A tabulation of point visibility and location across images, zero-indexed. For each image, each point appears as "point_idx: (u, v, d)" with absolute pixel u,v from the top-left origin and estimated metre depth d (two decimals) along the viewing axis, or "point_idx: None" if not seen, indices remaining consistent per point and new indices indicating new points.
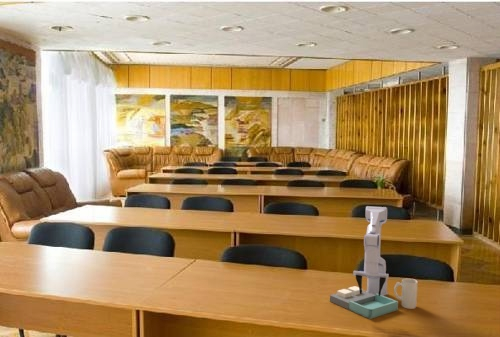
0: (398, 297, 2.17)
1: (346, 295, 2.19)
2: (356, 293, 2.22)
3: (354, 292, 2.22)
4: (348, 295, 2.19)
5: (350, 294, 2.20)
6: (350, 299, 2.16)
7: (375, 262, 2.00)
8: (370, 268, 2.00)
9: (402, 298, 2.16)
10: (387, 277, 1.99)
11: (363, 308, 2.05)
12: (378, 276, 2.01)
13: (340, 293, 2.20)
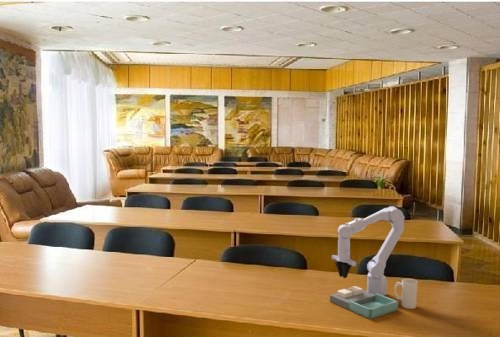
0: (398, 297, 2.17)
1: (346, 295, 2.19)
2: (356, 293, 2.22)
3: (354, 292, 2.22)
4: (348, 295, 2.19)
5: (350, 294, 2.20)
6: (350, 299, 2.16)
7: (340, 250, 2.28)
8: (339, 255, 2.29)
9: (402, 298, 2.16)
10: (352, 264, 2.25)
11: (363, 308, 2.05)
12: None
13: (340, 293, 2.20)
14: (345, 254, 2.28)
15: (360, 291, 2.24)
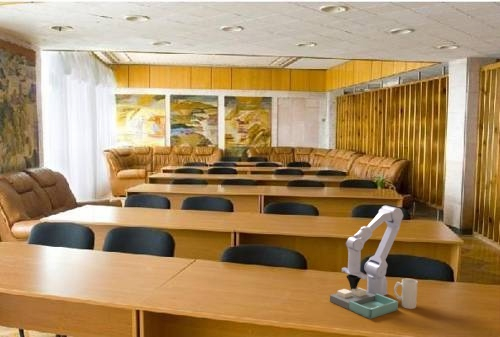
0: (398, 297, 2.17)
1: (346, 295, 2.19)
2: (360, 294, 2.20)
3: (358, 293, 2.20)
4: (348, 295, 2.19)
5: (350, 294, 2.20)
6: (350, 299, 2.16)
7: (352, 263, 2.22)
8: (349, 267, 2.24)
9: (402, 298, 2.16)
10: (363, 278, 2.19)
11: (363, 308, 2.05)
12: None
13: (340, 293, 2.20)
14: (355, 267, 2.22)
15: (364, 292, 2.22)
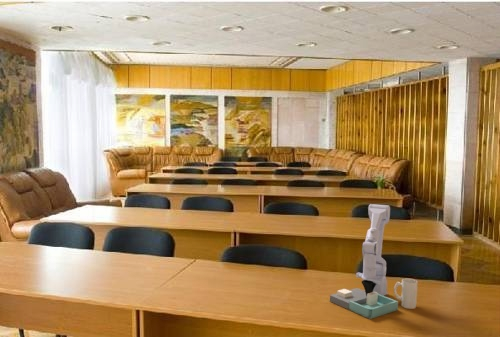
0: (398, 297, 2.17)
1: (346, 295, 2.19)
2: None
3: (368, 303, 2.15)
4: (348, 295, 2.19)
5: (350, 294, 2.20)
6: (350, 299, 2.16)
7: (372, 268, 2.14)
8: (365, 273, 2.16)
9: (402, 298, 2.16)
10: (379, 283, 2.11)
11: (363, 308, 2.05)
12: None
13: (340, 293, 2.20)
14: (371, 272, 2.14)
15: None
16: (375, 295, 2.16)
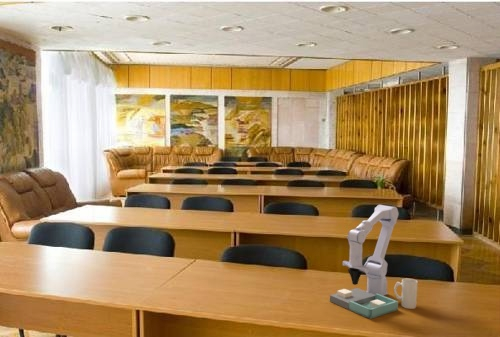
0: (398, 297, 2.17)
1: (346, 295, 2.19)
2: None
3: (370, 304, 2.14)
4: (348, 295, 2.19)
5: (350, 294, 2.20)
6: (350, 299, 2.16)
7: (356, 256, 2.17)
8: (351, 261, 2.18)
9: (402, 298, 2.16)
10: (365, 271, 2.14)
11: (363, 308, 2.05)
12: (360, 269, 2.17)
13: (340, 293, 2.20)
14: (357, 260, 2.17)
15: None
16: None
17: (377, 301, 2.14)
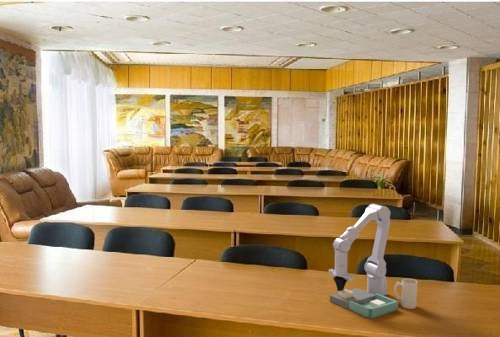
0: (398, 297, 2.17)
1: (347, 296, 2.18)
2: None
3: (370, 304, 2.14)
4: (349, 296, 2.19)
5: (351, 295, 2.19)
6: (350, 299, 2.16)
7: (339, 264, 2.20)
8: (336, 269, 2.21)
9: (402, 298, 2.16)
10: (350, 279, 2.17)
11: (363, 308, 2.05)
12: None
13: (341, 293, 2.19)
14: (342, 268, 2.20)
15: None
16: None
17: (377, 301, 2.14)
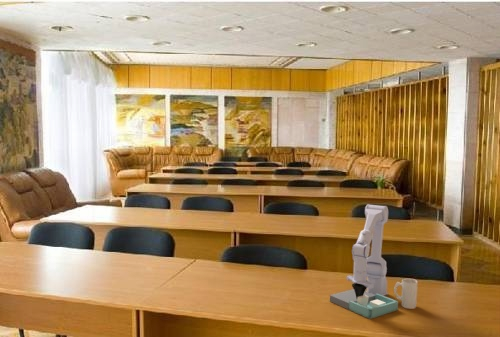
0: (398, 297, 2.17)
1: None
2: None
3: (370, 304, 2.14)
4: None
5: None
6: (350, 299, 2.16)
7: (362, 271, 2.10)
8: (355, 276, 2.11)
9: (402, 298, 2.16)
10: (370, 287, 2.07)
11: (363, 308, 2.05)
12: None
13: (359, 302, 2.10)
14: (362, 275, 2.10)
15: None
16: None
17: (377, 301, 2.14)
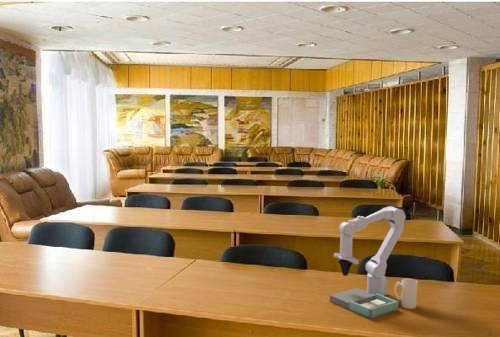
0: (398, 297, 2.17)
1: None
2: None
3: None
4: None
5: None
6: (350, 299, 2.16)
7: (343, 247, 2.25)
8: (341, 252, 2.25)
9: (402, 298, 2.16)
10: (355, 262, 2.21)
11: (363, 308, 2.05)
12: None
13: None
14: (347, 252, 2.24)
15: None
16: None
17: (377, 301, 2.14)
